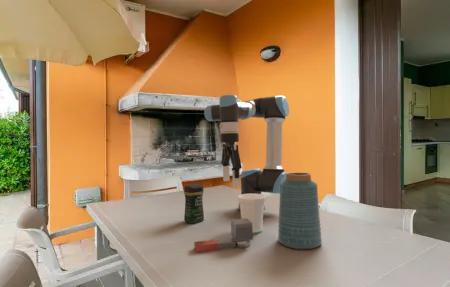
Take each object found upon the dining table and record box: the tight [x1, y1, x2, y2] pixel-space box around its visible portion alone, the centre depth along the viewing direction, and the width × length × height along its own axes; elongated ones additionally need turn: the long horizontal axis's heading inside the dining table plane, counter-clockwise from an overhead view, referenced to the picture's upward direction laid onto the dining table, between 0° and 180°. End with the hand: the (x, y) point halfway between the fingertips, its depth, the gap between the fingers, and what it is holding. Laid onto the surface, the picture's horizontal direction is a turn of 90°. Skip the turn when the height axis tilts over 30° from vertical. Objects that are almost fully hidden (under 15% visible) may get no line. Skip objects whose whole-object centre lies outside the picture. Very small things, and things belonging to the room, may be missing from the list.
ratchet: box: [193, 237, 251, 254], centre depth 102 cm, size 21×6×7 cm, turn 104°
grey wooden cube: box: [230, 218, 254, 241], centre depth 103 cm, size 6×6×6 cm
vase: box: [277, 171, 323, 251], centre depth 105 cm, size 16×16×27 cm
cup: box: [237, 193, 267, 235], centre depth 120 cm, size 12×12×15 cm
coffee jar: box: [183, 183, 205, 224], centre depth 136 cm, size 10×8×19 cm
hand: (231, 183), depth 114 cm, fingers open, 13 cm apart
